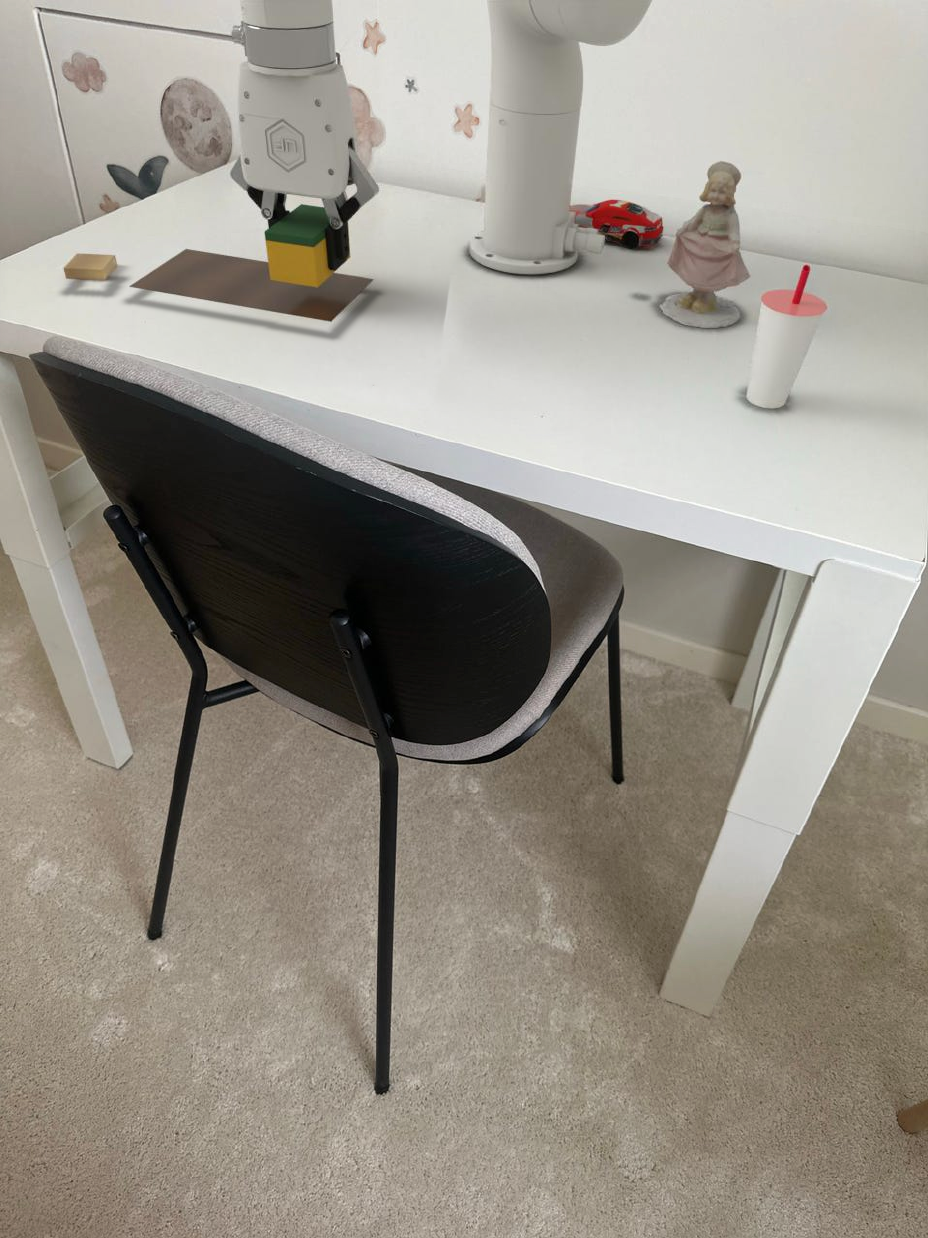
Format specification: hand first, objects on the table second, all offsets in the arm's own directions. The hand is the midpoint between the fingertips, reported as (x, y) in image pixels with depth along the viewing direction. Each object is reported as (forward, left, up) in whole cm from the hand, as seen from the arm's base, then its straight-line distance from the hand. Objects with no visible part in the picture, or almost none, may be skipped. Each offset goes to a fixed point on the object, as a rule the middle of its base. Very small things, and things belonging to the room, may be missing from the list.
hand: (311, 259), depth 88 cm
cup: (-45, +3, -5) cm, 46 cm away
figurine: (-36, -14, -5) cm, 39 cm away
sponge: (0, 0, -1) cm, 1 cm away
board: (+7, 0, -5) cm, 8 cm away
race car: (-24, -31, -5) cm, 40 cm away
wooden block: (+23, +4, -5) cm, 24 cm away
